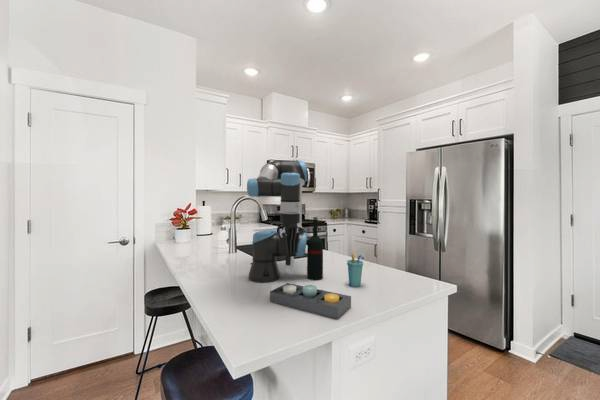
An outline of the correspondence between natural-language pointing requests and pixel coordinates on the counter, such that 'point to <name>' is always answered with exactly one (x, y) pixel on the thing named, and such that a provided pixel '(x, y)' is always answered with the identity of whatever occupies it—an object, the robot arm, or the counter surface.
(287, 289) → the button ivory
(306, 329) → the counter surface
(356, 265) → the cup
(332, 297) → the button amber
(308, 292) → the button teal
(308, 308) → the console
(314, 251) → the wine bottle
